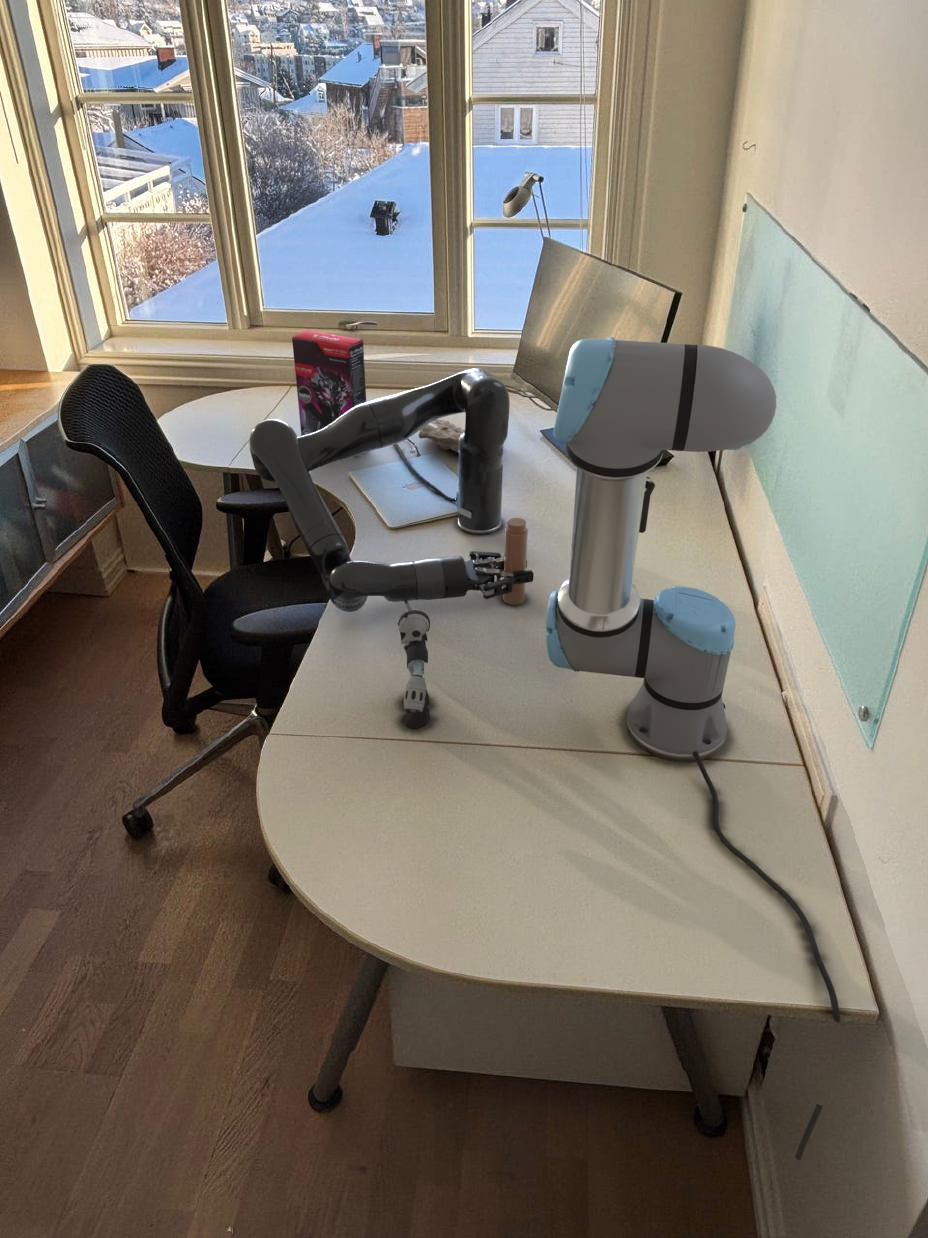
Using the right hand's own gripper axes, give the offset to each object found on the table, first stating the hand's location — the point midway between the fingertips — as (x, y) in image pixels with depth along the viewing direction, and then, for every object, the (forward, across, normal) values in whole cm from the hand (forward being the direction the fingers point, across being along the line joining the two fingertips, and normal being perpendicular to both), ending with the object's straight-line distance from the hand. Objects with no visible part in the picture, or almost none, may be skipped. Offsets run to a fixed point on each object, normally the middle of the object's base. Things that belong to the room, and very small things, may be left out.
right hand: (607, 566), depth 169 cm
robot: (+8, +39, +26) cm, 47 cm away
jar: (+8, +16, -4) cm, 19 cm away
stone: (+9, +15, -75) cm, 77 cm away
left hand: (+2, +14, -4) cm, 14 cm away
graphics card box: (+9, +44, -83) cm, 94 cm away
